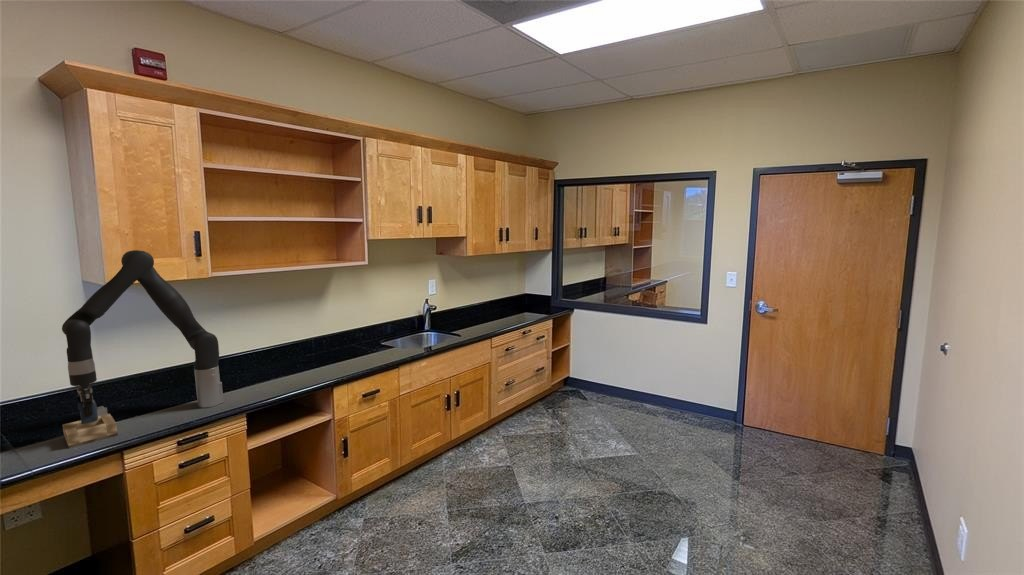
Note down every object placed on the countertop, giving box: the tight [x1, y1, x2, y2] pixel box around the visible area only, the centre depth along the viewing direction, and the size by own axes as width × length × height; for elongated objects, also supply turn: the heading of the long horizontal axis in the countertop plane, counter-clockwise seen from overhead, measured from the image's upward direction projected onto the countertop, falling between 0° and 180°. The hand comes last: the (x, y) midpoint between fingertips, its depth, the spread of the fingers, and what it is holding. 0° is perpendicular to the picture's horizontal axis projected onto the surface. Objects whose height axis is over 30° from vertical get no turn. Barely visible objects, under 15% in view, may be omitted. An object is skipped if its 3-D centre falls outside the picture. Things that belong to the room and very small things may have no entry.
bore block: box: [61, 413, 119, 449], centre depth 183 cm, size 14×14×5 cm
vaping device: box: [76, 394, 98, 424], centre depth 182 cm, size 3×5×12 cm, turn 137°
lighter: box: [97, 405, 109, 416], centre depth 198 cm, size 7×2×8 cm, turn 152°
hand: (88, 414), depth 182 cm, fingers closed on vaping device, 2 cm apart
